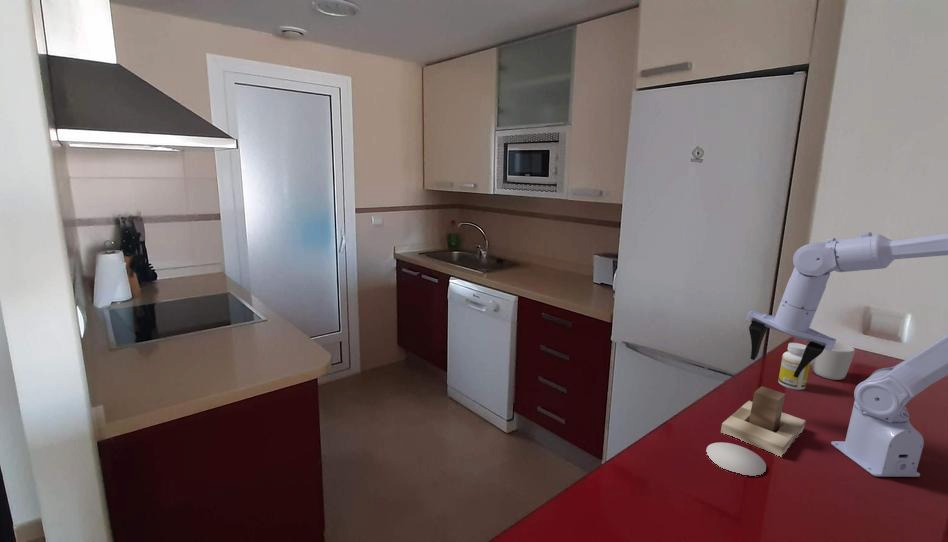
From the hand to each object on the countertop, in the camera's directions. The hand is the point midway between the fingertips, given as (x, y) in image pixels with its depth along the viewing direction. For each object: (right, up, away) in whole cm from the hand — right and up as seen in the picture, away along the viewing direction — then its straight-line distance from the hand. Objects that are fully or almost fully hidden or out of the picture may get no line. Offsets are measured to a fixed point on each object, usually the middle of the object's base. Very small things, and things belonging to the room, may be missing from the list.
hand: (774, 366), depth 93 cm
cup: (+27, -7, +23) cm, 36 cm away
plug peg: (-4, -12, -4) cm, 13 cm away
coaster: (-15, -13, -13) cm, 24 cm away
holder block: (-4, -12, -4) cm, 13 cm away
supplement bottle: (+15, -8, +17) cm, 24 cm away
